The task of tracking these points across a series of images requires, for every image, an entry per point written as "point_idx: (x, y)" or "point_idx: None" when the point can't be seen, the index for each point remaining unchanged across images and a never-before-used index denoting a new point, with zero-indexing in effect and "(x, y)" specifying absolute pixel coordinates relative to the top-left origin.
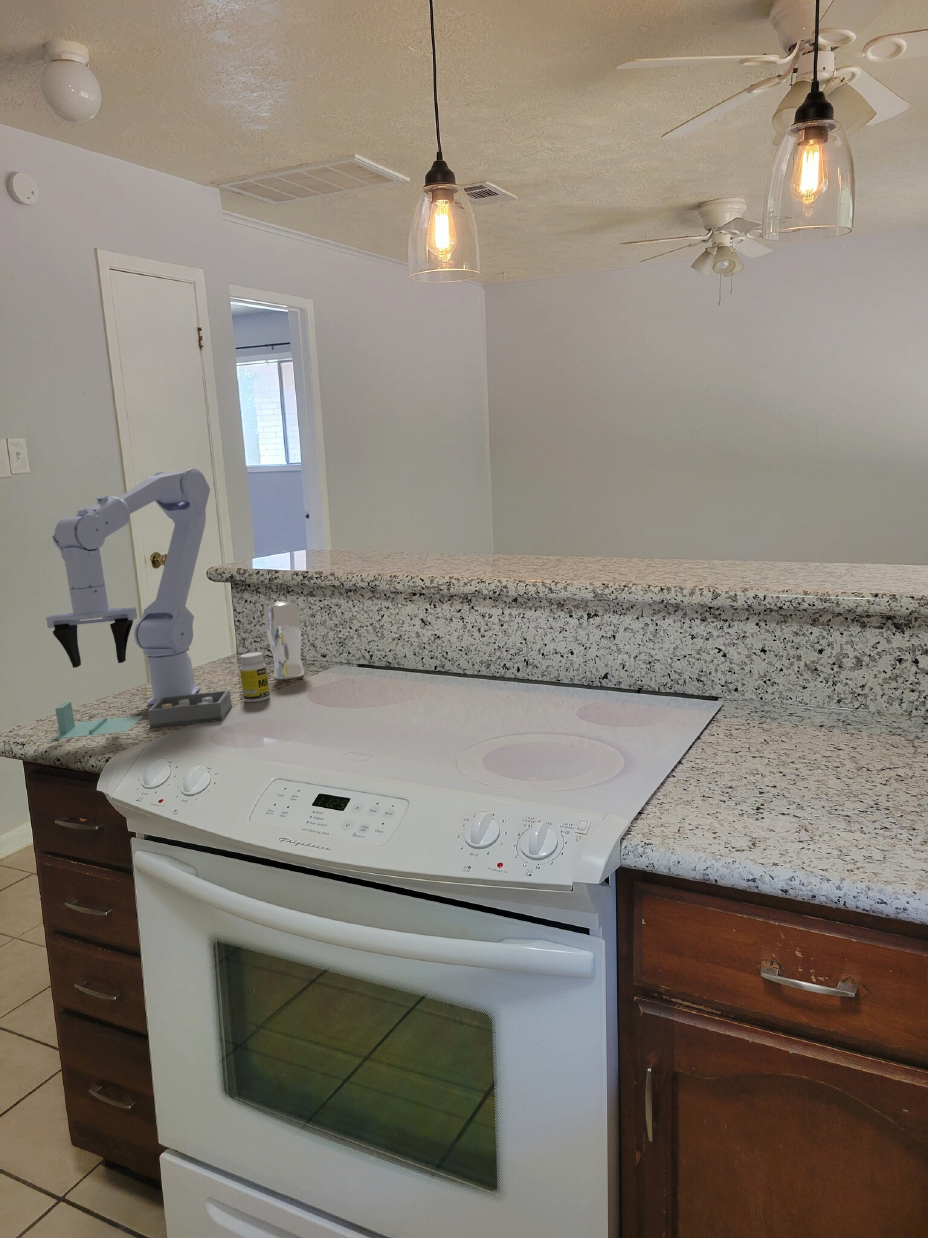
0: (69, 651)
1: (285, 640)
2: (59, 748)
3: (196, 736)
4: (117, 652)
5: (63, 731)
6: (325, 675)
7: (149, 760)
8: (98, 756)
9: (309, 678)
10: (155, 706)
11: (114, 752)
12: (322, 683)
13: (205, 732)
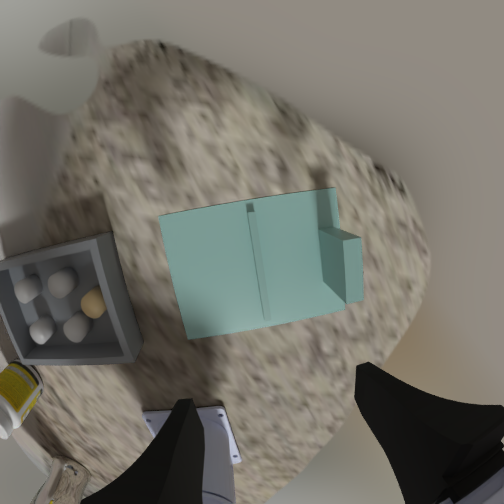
0: (403, 393)
1: (40, 493)
2: (272, 108)
3: (9, 158)
4: (178, 424)
5: (326, 229)
6: (27, 447)
7: (50, 37)
8: (145, 45)
9: (36, 445)
10: (99, 281)
11: (121, 65)
12: None
13: (3, 182)
